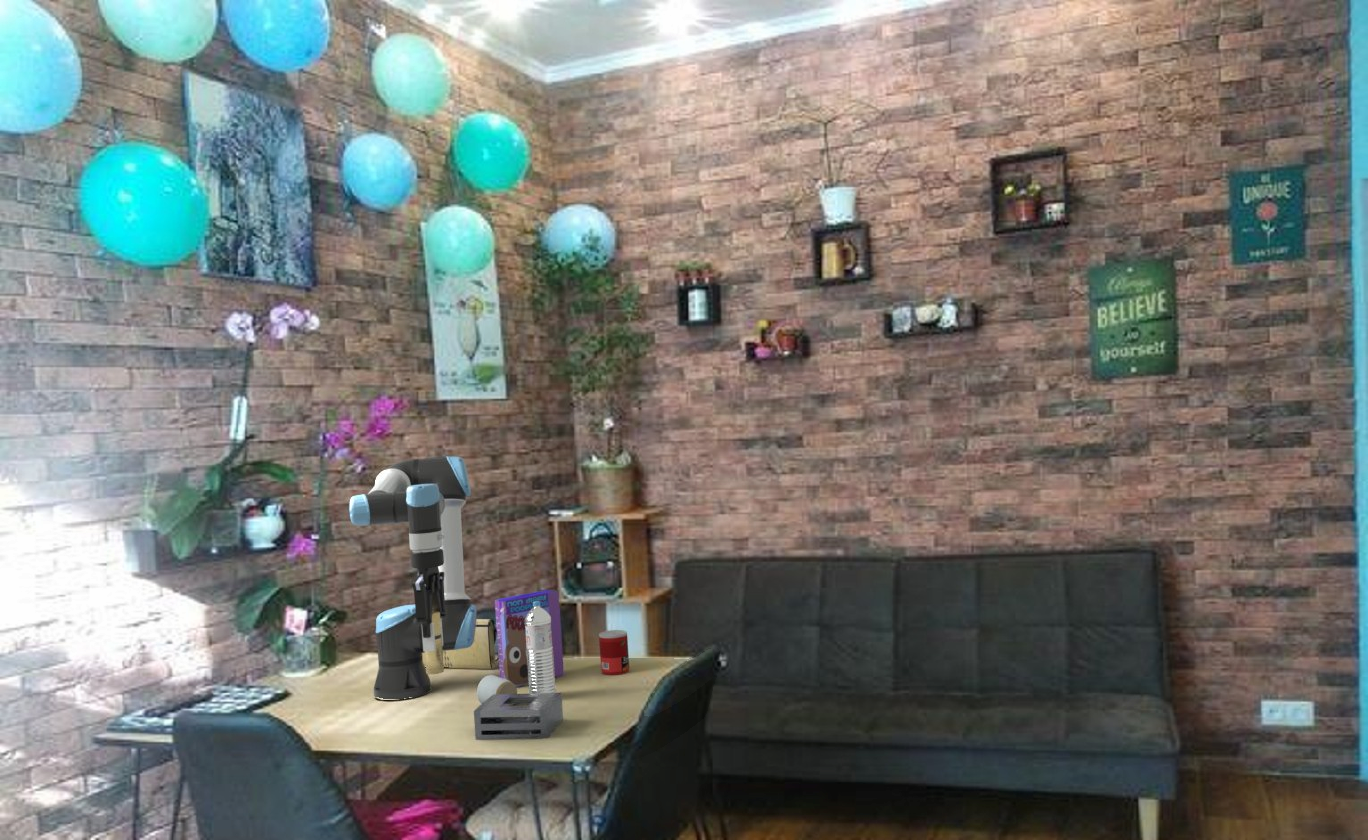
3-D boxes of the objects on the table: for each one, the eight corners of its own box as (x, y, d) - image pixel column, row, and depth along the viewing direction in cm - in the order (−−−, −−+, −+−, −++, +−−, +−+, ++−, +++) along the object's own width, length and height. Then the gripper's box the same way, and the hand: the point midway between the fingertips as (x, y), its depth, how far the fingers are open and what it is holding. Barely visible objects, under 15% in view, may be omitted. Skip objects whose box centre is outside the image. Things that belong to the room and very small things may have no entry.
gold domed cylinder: (423, 674, 227) (419, 615, 227) (430, 669, 231) (426, 611, 231) (439, 674, 226) (435, 614, 226) (446, 669, 230) (442, 610, 230)
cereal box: (508, 689, 261) (502, 600, 261) (500, 686, 265) (494, 598, 265) (564, 675, 272) (558, 590, 272) (555, 672, 276) (549, 588, 276)
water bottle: (550, 701, 246) (544, 604, 246) (525, 702, 248) (519, 604, 248) (559, 694, 253) (553, 598, 253) (535, 694, 255) (528, 599, 255)
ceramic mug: (497, 713, 239) (495, 682, 240) (476, 708, 245) (475, 678, 245) (530, 702, 248) (528, 672, 248) (509, 698, 253) (508, 669, 253)
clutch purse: (508, 664, 289) (505, 614, 289) (496, 671, 282) (493, 620, 282) (423, 663, 299) (420, 614, 299) (409, 669, 292) (406, 619, 292)
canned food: (628, 674, 268) (625, 634, 268) (599, 676, 268) (597, 636, 268) (630, 667, 276) (627, 628, 276) (602, 669, 276) (600, 630, 276)
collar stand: (475, 739, 220) (473, 710, 220) (494, 721, 233) (493, 694, 233) (547, 737, 218) (545, 709, 218) (563, 719, 231) (561, 692, 231)
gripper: (427, 554, 219) (434, 657, 220) (455, 543, 236) (461, 638, 237) (395, 556, 220) (402, 658, 221) (426, 545, 237) (432, 639, 238)
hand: (433, 647), depth 229 cm, fingers closed on gold domed cylinder, 4 cm apart
